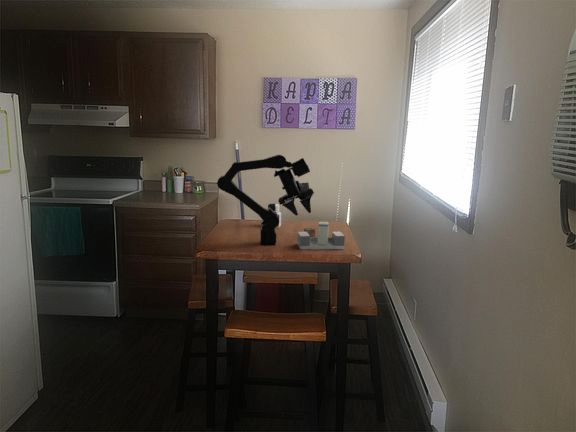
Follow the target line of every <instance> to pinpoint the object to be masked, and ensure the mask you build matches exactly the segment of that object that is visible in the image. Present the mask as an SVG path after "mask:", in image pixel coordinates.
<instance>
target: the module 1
mask: <svg viewBox="0 0 576 432" xmlns="http://www.w3.org/2000/svg"><path fill="white" fill-rule="evenodd" d="M297 237H298V243H299V245H300V246H310V235H309V234H308V233H307V232H304V231H297Z"/></svg>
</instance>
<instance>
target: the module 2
mask: <svg viewBox="0 0 576 432" xmlns="http://www.w3.org/2000/svg"><path fill="white" fill-rule="evenodd" d="M331 237H332V242H333V243H334V244H335V245H336V246H337V245H344V246H345V239H346V238H345V235H344V234H343V232H341V231H332V232H331Z"/></svg>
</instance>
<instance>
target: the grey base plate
mask: <svg viewBox="0 0 576 432" xmlns="http://www.w3.org/2000/svg"><path fill="white" fill-rule="evenodd" d="M296 245H297V246H298V248H299V250H345V244H344V245H337V246H336V245H335V244H334V243H333V242H332V236H328V244H327V245H325V244H318V236H315V237H310V246H300V245H299V243H298V236H297V237H296Z"/></svg>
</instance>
